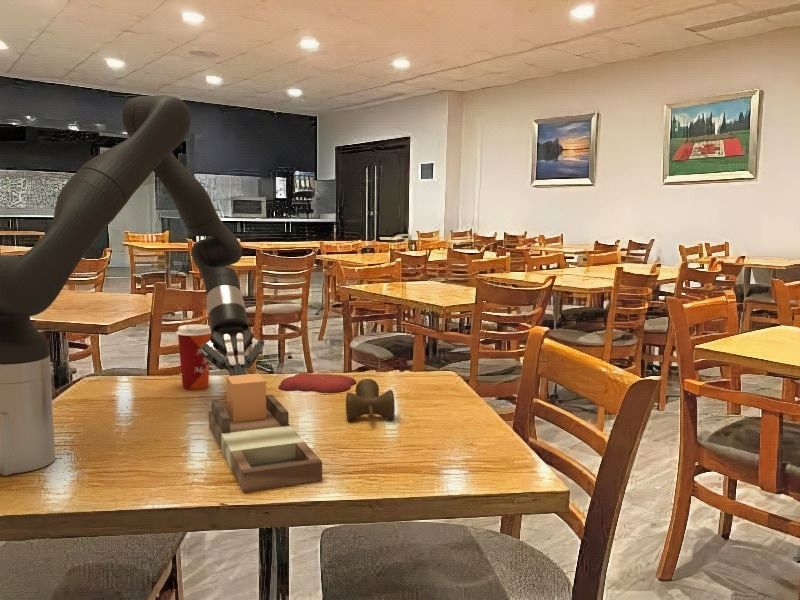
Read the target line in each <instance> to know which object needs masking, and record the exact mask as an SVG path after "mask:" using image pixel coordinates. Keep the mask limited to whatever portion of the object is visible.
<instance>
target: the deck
mask: <svg viewBox="0 0 800 600" xmlns="http://www.w3.org/2000/svg"><path fill="white" fill-rule="evenodd" d="M289 414H290V413H289V411H288V410H287V409H286V407H284V405H283V404H282V403H281V402H279V400H278V399H277V398H276V397H275V396H274V395H273V394H266V419H257V420H248V421H239V422H233V421H232V420H231V418H230V417H229V415H228V413H227V409H224V406H223V405H222V404H221V402H220V400H219V399H213V400H212V399H211V411H208V427H209V430H210V431H211V433H212V435H213V438H214V439H215V440H216V443H217V444H218V446H219V448H220V450H221V453H222V455H223V456H224V458H225V460H226V461H227V463H228V466H229V468H230V470H231V471H232V473H233V475H234V477H235V479H236V481H237V483H238V485H239V487H240V489H241V491H242V492H243V493H250V492H251V493H252V492H256V491H262V490H263V491H264V490H269V489H276V488H281V486H283V487H288V486H287V485H290V486H294V484H296V485H301V484H300V483H303V484H308V483H307V482H309V483H314V482H315V481H316V482H320V481H319V480H322V481H323V461H322V460H321V459H320V457H319V456H318V454H316V453H315V452H314V450H313V449H312V448H311V447H310V446H309V445H308V444H307V443H306V442H305V440H304V439H303V438H302V437H301V436H300V435H299V434H298V432H297V431H296V430H295V429H294V427H292V426H291V425H290V422H289V419H290V418H289V416H290V415H289Z"/></svg>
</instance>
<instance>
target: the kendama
mask: <svg viewBox="0 0 800 600" xmlns="http://www.w3.org/2000/svg"><path fill="white" fill-rule="evenodd" d="M355 385H356V386H355V390H354V391H355V393H353V392H347V393H346V395H345V414H346V415H345V416H346V420H348V421H349V422H351V421H353V420H355V419H357V418H359V417H362V416H365V415H369V416H373V415H378V416H381V417H383V418H385V419H387V420H389V421H394V418H395V412H396V409H395V408H396V407H395V406H396V405H395V395H394V392H393V390H392V389H389V390H387V391H385V392H384V393H382V394H381V395H379V394H380V393H379V392H380V388H379V385H378V383H377V382H376V380H373V379H371V378H363V379H361V380H359V381H358V382H357V383H356V384H355Z"/></svg>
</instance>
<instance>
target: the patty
mask: <svg viewBox="0 0 800 600" xmlns="http://www.w3.org/2000/svg"><path fill="white" fill-rule="evenodd" d="M357 384H358V382H357V380H356V379H355V378H353V377H350V376H346V375H341V374H328V373H324V374H323V373H321V374H319V373H317V374H316V373H313V374H312V373H309V372H301V373H296V374H294V375H292V376H288V377H286V378H284V379H283V380H281V381H280V384H279V385H278V386H277V387H278V389H279V390H280V391H284V392H297V391H299V392H314V393H322V394H341V393H344V392H347V391H349V390H351V387H352V386H355V385H357Z"/></svg>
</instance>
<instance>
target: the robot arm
mask: <svg viewBox="0 0 800 600" xmlns="http://www.w3.org/2000/svg"><path fill="white" fill-rule="evenodd" d="M191 117H192V116H191V111H190V108H189V106H188V105H187V104H186V102H184V101H183V100H182V99H181V98H178V97H177V96H174V95H173V96H172V95H167V94H166V95H164V94H161V95H160V94H159V95H158V94H157V95H142V96H141V95H140V96H135V97H131V98H130V99H128V100H127V101H126V103H125V105H124V106H123V109H122V114H121V118H122V123H123V127H124V130H125V132H126V134H127V135H128V138H126V139H124V141H121V142H120V143H118V144H116V145H114V146H112V147H111V148H108V149H107V150H105V151H103V152H101V153H100V154H97V155H96V156H95V157H93V158H91V159H90V160H88V161H86V162H85V163H84V164H83V165H82V166H81V167H80V168H79V169H78V170H77V171H76V172H75V173H74V174H73V175H72V177H71V178H70V179H69V180H67V182H66V183H65V184H64V186H63V187H62V188H61V190H59V191H60V192H59V193H58V196H57V199H56V202H55V207H54V212H53V219H52V222H51V225H50V226H49V228H48V230H47V231H46V232H45V233H44V235H42V237H41V238H40V239H39V240H38V241H37V242H36V244H34V245H33V246H32V247H31V248H30V249H29V250H28V251H27V252H26V253H24V254H23V255H11V254H8V255H7V254H0V475H2V476H10V475H12V474H13V475H14V474H19V473H26V472H32V471H36V470H38V469H42V468H44V467H47V466H49V465H50V464H53V462H54V461H55V459H56V451H55V450H56V449H55V448H56V445H55V431H54V430H55V428H54V410H53V409H54V407H53V393H52V392H53V391H52V373H51V372H52V371H51V370H52V369H51V351H50V341H49V340H48V338H47V337H46V336H45V335H44V334H43V333H41V332H40V331H39V330H37V328H36V327H35V326H34V324H33V322H32V320H31V317H33V316H37V315H40V314H41V313H44V312H45V311H46V310H47V309H48V308H49V307H50V306H51V305H52V304H53V303H54V302H55V300H56V299H57V298H58V296H59V295H60V293H61V292H62V291H63V290H64V289H63V288H64V287H65V285H66V284H67V282H68V280H70V277H71V276H72V274H73V273H74V271H75V270H76V269H77V266H78V265H79V264H80V262H81V260H82V259H83V258H84V257H85V255H86V253H87V252H88V251H89V250H90V249H91V248H92V246H93V245H94V244H95V242H96V241H97V240H98V238H99V237H100V236H101V234H103V232H104V231H105V230H106V228H107V227H108V226H109V225H110V224H111V223H112V222H113V220H114V219H115V218H116V217H117V215H118V214H119V213H120V212H121V211H122V210H123V208H124V207H125V205H127V203H129V200H130V199H131V197H132V196H133V195H134V194H135V193H136V191H137V190H138V189H139V188H140V187H141V186H142V185H143V183H144V182H145V181H146V180H147V179H148V177H149V176H150V175H151V174H152V173H153V174H155V176H156V177H157V178H158V180H159V181H160V182H161V185H163V187H164V188H165V190H166V192H167V193H168V195H169V196H170V198H171V200H172V202H173V205H175V207H176V210H177V212H178V214H179V215H180V219H182V222H183V224H184V226H185V228H186V230H187V231H188V233H189V234H190V235H191V236H194V237H208V238H204V239H200V240H198V241H196V242H195V243H194V244H193V245H192V247H191V251H190V252H191V253H190V254H191V258H192V261H193V262H194V264H195V266H196V268H197V270H198V271H199V273H200V275H201V277H202V279H203V283H204V289H205V295H206V308H207V309H206V310H207V311H206V312H207V313H206V314H207V316H208V321H209V326H210V330H211V333H210V341H209V342H208V343H203V344H202V346H201V354H202V355H203V356H204V357H206V358H207V359H208V360H209V363H211V364H213V365H214V366H215V367H216V368H217V369H219V370H220V371H223V370H227V371H228V374H229V375H228V376H236V375H247V374H246V368H247V369H249V368H252V366H253V364H254V363H255V362H256V360H257V359H258V357H259V356H260V355H261V353H262V351H263V349H264V346H265V340H264V339H259V340H258V339H256V338H255V337H254V335H253V333H252V332H251V331H250V326H249V321H248V316H247V311H246V306H245V301H244V298H243V295H242V291H241V286H240V280H239V277H238V274H237V272H236V270H235V269H234V268H233V267H229V266H232V265H234V264H237V263H238V262H240V260H241V259H242V254H243V249H242V246H241V243H240V241H239V240H238V238H237V237H236V236H235V235H234V233H233V232H232V231H231V230H230V229H229V228H228V227H227V225H225V224H224V222H223V221H222V220H221V218H220V216H219V215H218V212H217V210H216V208H215V206H214V204H213V202H212V199H211V198H210V197H211V196H210V195H209V194H208V191H207V190H206V189H205V187H204V186H203V185H202V184H201V182H200V181H199V180H198V179H197V178H196V177H195V176H194V174H192V173H191V172H190V171H189V170H188V169H187V168H186V167H185V166H184V165H183V164H182V163H181V162H180V161H179V160H178V159H177V157H176V155H174V153H173V152H174V151H175V150H176V149H177V148H178V147H179V146H180V145H181V144H182V143H183V142H184V140H185V139H186V137H187V136H188V133H189V131H190V129H191V124H192V123H191V122H192V118H191ZM250 346H251V351H250V353H249V354H248V355H247V357H246V358H245V353H246V352H247V350H248V349H249V348H250ZM217 351H218V352H217Z"/></svg>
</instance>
